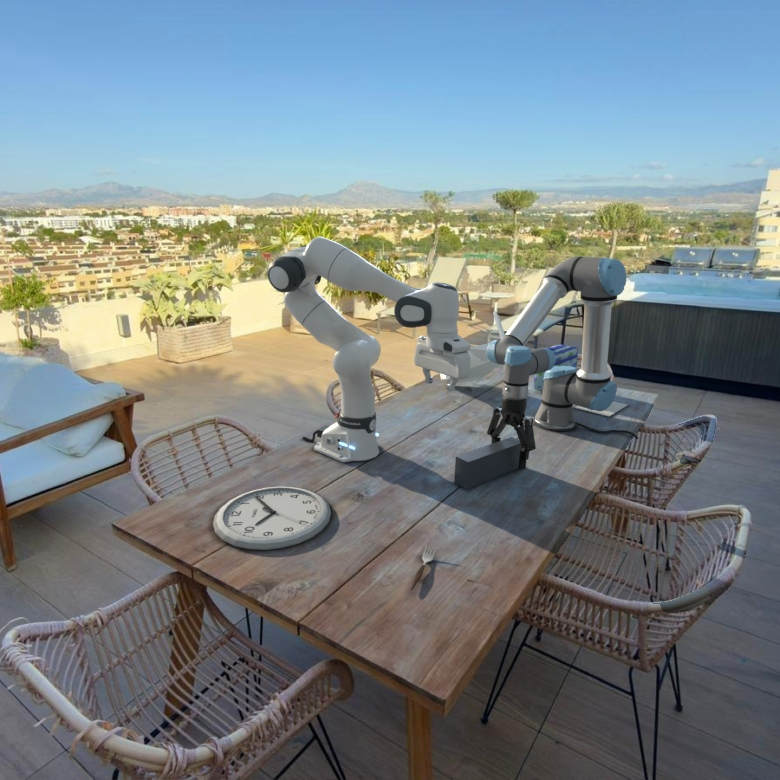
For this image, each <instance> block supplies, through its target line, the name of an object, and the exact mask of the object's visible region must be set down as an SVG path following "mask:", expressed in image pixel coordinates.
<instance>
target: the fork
mask: <svg viewBox="0 0 780 780" xmlns="http://www.w3.org/2000/svg"><path fill="white" fill-rule="evenodd" d="M428 545H429V546H428ZM431 545H432V547H431ZM434 545H435V544H434V543H431V542H430V543H429V542H427V544H426V546H425V549H424V552H423V555H422V561H423V564H422V565H421V566H420V568H419V569H418V570H417V572H416V575H415V576H414V579H413V583H412V585H411V589H410V591H413V589H415V587H416V585H417V583H418V582H419V580H420V579H421V577H422V575H423V573H424V570H425V566H426V564H428V563H431V562H432V561H434V560H435V554H436V549H437V545H438V544H436V545H435V548H434ZM430 549H431V550H430ZM433 549H434V551H433Z"/></svg>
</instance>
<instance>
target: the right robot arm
mask: <svg viewBox="0 0 780 780" xmlns="http://www.w3.org/2000/svg"><path fill="white" fill-rule="evenodd" d="M540 283H541V286H540V288H539V289H538V290H537V292H535V294H534V295H533V297H532V298H531V300H530V301H529V302H528V304H527V305H526V306H525V307H524V309H523V310H522V312H521V313H520V314H519V316H518V317H517V318H516V320H515V321H514V322H513V324H512V325H511V326H510V328H509V329H508V330H507V332H505V333H504V334H505V336H504V337H503V338H502V339H501V338H500V339H493V340H492V341H490V342H489V343H488V344H489V345H488V347H487V351H486V354H487V357H488V359H489V360H490V361H492V362H494V363H497V364H501V365H500V366H502V365H505V368H504V370H503V382H502V392H501V395H502V396H501V403H500V406H498V407H494V408H493V410H492V417H491V420H490V422H489V425H488V428H487V430H486V434H487V435H488V436H489V437H490V438H491V442H490V444H493V443H496V442H498V441H501V437H500V436H501V433H502V432H503V431H504V429H506V427H507V425H508V426H511V427H512V428H513V429H514V431H516V435H517V437H518V438H517V439H518V440H519V441H520V444H521V447H522V450H520V456H519V466H518V469H517V470H518V471H522V470H524V469H527V461H528V460H529V459H530V452H533V451H535V450H536V449H537V447H536V440H535V433H534V428H533V427H534V424H535V425H536V426H537V427H539V428H542V429H544V430H549V431H556V432H567V431H572V430H574V429H575V428H576V425H577V426H580V427H582V428H583V429H586V430H589V431H592V432H595V433H599V434H611V433H620V434H621V433H622V434H628V435H631V436H632V437H634V439H636V440H639V437H638V435H637V434H636V433H634V432H633V431H630V430H623V429H609V430H600V429H595V428H593V427H591V426H587V425H586V424H582V423H580V422H577V421H576V418H575V417H576V416H575V413H574V407H573V405H574V406H581V407H584V408H588V409H590V410H596V411H604V410H606V409H607V408H608V407H609V406H610V405H611V403H612V402H613V401H614V400H615V398H616V395H617V391H618V385H617V383H616V382H615V381H613V380H611V379H612V373H611V372H610V371H609V369H608V358H609V347H610V345H609V344H610V333H611V320H612V309H613V308H612V306H613V304H614V302H616V301H617V300H618V296H620V295H621V294H623V292H624V290H625V287H626V285H627V270H626V266H625V265H624V264H623V263H622V261H620V260H619V259H617V258H610V257H601V256H600V257H599V256H581V255H576V256H571V257H569V258H567V259H565V260H563V261H561V262H560V263H558V264H557V265H556V266H554V267H553V268H552V269H550V270H549V272H548V273H547V274H546V275H545V276H544V277H543V279H542V280H541V282H540ZM570 292H580V301H582V302H583V303H584V312H583V327H582V328H583V329H582V346H581V363H580V368H579V369H578V368H577V367H576V368H575V367H572V366H554V365H555V362H556V358H555V355H554V353H553V351H552V350H550V349H548V348H549V347H539V348H534V347H529V346H526V345H527V344H528V342H529V341H530V339H531V338H532V337H533V335H534V334H535V333H536V331H537V330H539V327H540V326H541V325H542V323H543V322H544V320H545V319H546V318H547V316H548V315H549V314H550V313H551V311H552V310H553V308H554V307H555V306H556V304H557V303H558V302H559V300H560V299H563V298H565V297H566V296H567V294H569V293H570ZM543 372H545V374H544V378H543V379H544V381H543V391H541V392H542V394H541V402H540V405H539V407H538V410H537V411H536V413H535V416H534V418H533V417H530V418H529V417H527V416H526V414H525V412H526V410H527V404H528V403H527V402H528V398H527V397H528V396H527V394H528V390H529V383H530V382H529V381H530V376H534V374H538V373H543Z"/></svg>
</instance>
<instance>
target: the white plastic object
mask: <svg viewBox="0 0 780 780" xmlns="http://www.w3.org/2000/svg"><path fill="white" fill-rule="evenodd" d="M492 315H493V319H494V321H495V324H496V325H495V326H496V328H497V332H498V335H499V338H500V340H501V339H502V338H503V337H504V336H505V334H506V333H505V331H504V328H503V325H502V321H501V318H500V315H499V314H498V312H497V311H496V310H495V311H492ZM488 345H489V343H488V342H487V343H483V344H479V345H473V346H471V348H470V350H469V351H467V352H468V353H469V355H470V374H469V376H468V377H467V378H464V379H459V380H458V382H457V383H456V385H458V384H467V383H468V384H469V383H473V384H477V383H480V382H482V381H484V378H485V377H486V376H487V375H489V374H490V373H492V372H494V371H495V370H496V369H497V368H499V367H500V366H502V370H503V371H504V368H505V365H501V364H497V363H494V362H492V361H490V360H489V359H488V357H487V354H486V351H487V347H488ZM439 376H440V381H442V383H443V384H444V385H445V386H447V385H448V384H450V382H451V380H450V376H447V375H444V374H441V373H439ZM528 396H531V395H530V390H529V389H528V394H527V397H528Z"/></svg>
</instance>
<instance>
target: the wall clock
mask: <svg viewBox="0 0 780 780" xmlns="http://www.w3.org/2000/svg"><path fill="white" fill-rule="evenodd" d="M331 516H332V512H331V507H330V504H329V503H328V502H327V500H326V499H325V498H323V497H322V496H320V495H319V494H317V493H316V492H313V491H310V490H308V489H305V488H300V487H293V486H271V487H263V488H259V489H253V490H251V491H247V492H244V493H242V494H239V495H238V496H235V497H234V498H232V499H230V500H228V501H227V502H226V503H225V504H223V505H222V506H221V507H220V508H219V510H218V511H217V512H216V514H215V515H214V518H213V522H212V527H213V529H214V533H215V535H217V536H218V537H219V538H220V539H221V541H222V542H225V543H227V544H229V545H231V546H233V547H237V548H242V549H246V550H258V551H259V550H260V551H267V550H276V549H284V548H288V547H291V546H295V545H299V544H301V543H303V542H305V541H308V540H310V539H312V538H314V537H316V536H317V535H318V534H319V533H321V532H322V531H323V530H324V529H325V527H326V526H327V525H328V524H329V522H330V520H331Z"/></svg>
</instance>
